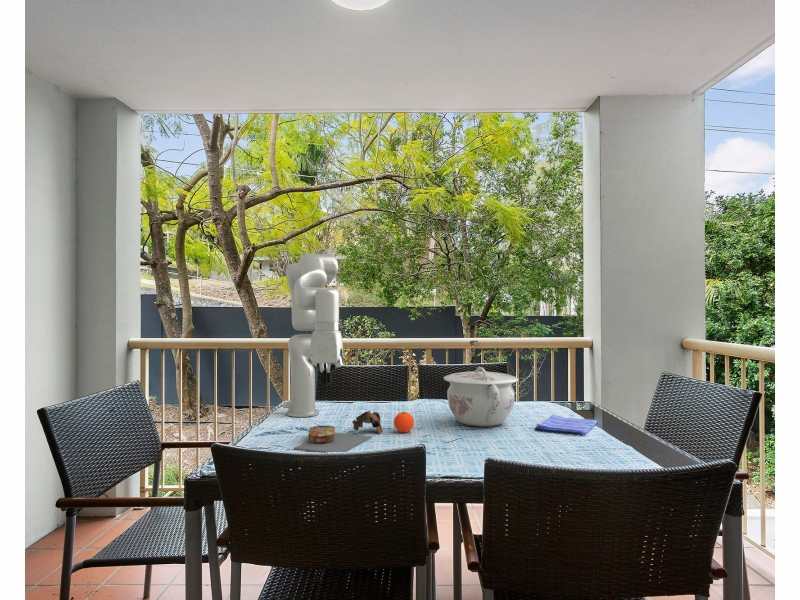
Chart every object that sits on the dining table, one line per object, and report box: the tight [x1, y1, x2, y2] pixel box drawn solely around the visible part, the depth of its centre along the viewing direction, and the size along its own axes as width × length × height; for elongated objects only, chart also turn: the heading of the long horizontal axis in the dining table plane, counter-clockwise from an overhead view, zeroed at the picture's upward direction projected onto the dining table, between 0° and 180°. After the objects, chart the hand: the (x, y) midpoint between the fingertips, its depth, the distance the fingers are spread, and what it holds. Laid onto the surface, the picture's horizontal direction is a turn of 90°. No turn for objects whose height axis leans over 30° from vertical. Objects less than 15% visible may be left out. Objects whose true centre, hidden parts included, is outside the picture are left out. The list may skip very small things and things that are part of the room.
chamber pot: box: [443, 366, 519, 428], centre depth 214 cm, size 28×28×21 cm
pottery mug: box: [351, 410, 383, 435], centre depth 202 cm, size 12×10×8 cm
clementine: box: [393, 411, 415, 433], centre depth 201 cm, size 8×7×7 cm
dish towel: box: [534, 414, 598, 437], centre depth 208 cm, size 17×24×3 cm
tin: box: [307, 425, 336, 443], centre depth 190 cm, size 15×3×8 cm
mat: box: [293, 432, 373, 453], centre depth 185 cm, size 16×22×1 cm
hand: (327, 384), depth 187 cm, fingers closed
